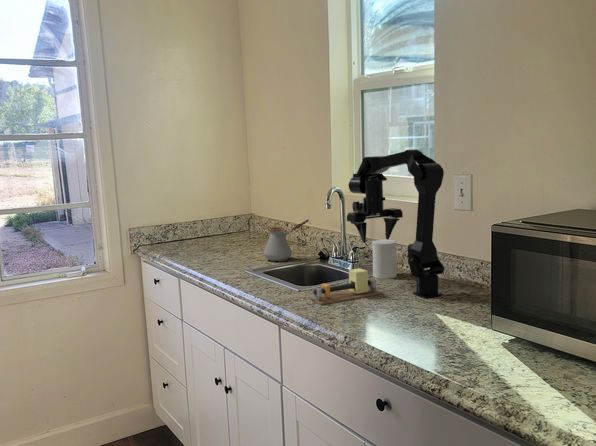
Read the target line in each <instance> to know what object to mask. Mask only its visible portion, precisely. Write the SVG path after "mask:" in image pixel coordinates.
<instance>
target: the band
mask: <svg viewBox="0 0 596 446" xmlns="http://www.w3.org/2000/svg"><path fill="white" fill-rule="evenodd" d="M320 285H321V287H320V288H325V293H322V295H324V296H326V297H329V296H330V293H331V292H330V287H331V286H330V285H329V284H327V283H321V284H320Z"/></svg>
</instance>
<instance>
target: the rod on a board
mask: <svg viewBox="0 0 596 446" xmlns="http://www.w3.org/2000/svg"><path fill="white" fill-rule="evenodd" d="M376 282H377V280H375V279H372V278H370V277H368V292H365V293H359V294H356V293H354V292H351V291H349V289H351V288H355V283H350V284H349V283H344V284H339V285H331V286H330V296H329V297H326V296H324V295H322V293H325V288H321V287H320V288H318V287H317V286H313V287H311V288H312V289H311V291H312V296H308V298H307V299H308V300H310V301H312V302H313V303H315V304H318V305H320V306H325V305H329V304H335V303H341V302H346V301H353V300H357V299H362V298H368V297H374V296H378V295H382V293H381V292H380V291H377V288H376V287H377V285H376V284H377V283H376Z"/></svg>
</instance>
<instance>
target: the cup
mask: <svg viewBox="0 0 596 446" xmlns="http://www.w3.org/2000/svg"><path fill="white" fill-rule="evenodd" d="M371 242H372V245H371V246H372V277H373V278H376V279H382V280H383V279H385V280H386V279H388V280H389V279H394V278H396V277H397V274H398V272H397V268H398V267H397V263H398V262H397V241H396V240H394V239H376V240H373V241H371Z"/></svg>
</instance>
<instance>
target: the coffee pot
mask: <svg viewBox="0 0 596 446" xmlns="http://www.w3.org/2000/svg"><path fill="white" fill-rule="evenodd" d="M306 223H308V224H311V223H312V222H311V221H310V219H306V220H303V222H300V223H298V224H297V225H295V226H293V228H291V229H289V230H287V231H286V232H284V231H285V229H286V228H285V227H283V226H282V227H281V226H279V227H278V226H277V227H276V226H275V227H271V228H270V227H269V228H268V230H269V232H270V234H269V238H268V240H267V243H266V245H265V249H264V251H263V255H264V257H265V258H266V259H268V261H269V260H270V261H269V262H275V261H278V262H285V261H287V260H288V259H289V258H290V257H291V256H292V254H293V251H292V249H291V246H290V244H289V242H288V241H287V238H286V236H287V235H288V234H289V233H291V232H293V231H296V230H298V229H299V228H301V227H302V226H303V225H305V224H306Z"/></svg>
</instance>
